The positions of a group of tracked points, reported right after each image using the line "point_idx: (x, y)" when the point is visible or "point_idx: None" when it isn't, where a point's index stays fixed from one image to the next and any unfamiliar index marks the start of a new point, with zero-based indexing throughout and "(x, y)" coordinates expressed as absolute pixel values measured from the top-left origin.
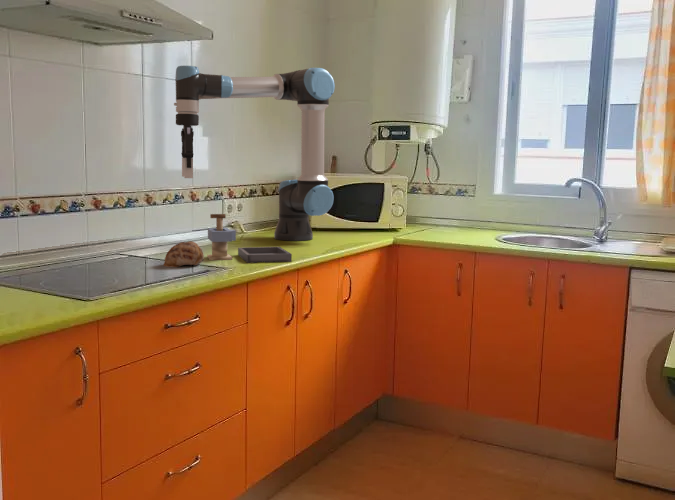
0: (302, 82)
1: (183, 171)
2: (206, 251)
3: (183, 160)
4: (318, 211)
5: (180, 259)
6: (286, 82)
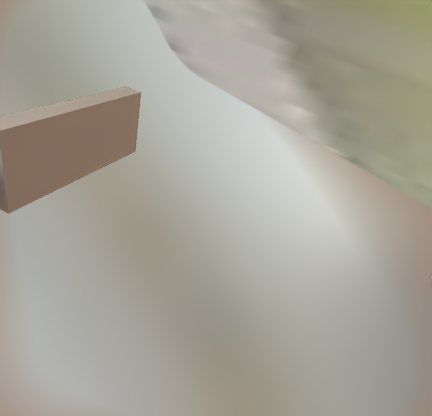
0: None
1: (111, 153)
2: (408, 18)
3: (34, 188)
4: None
5: None
6: None
